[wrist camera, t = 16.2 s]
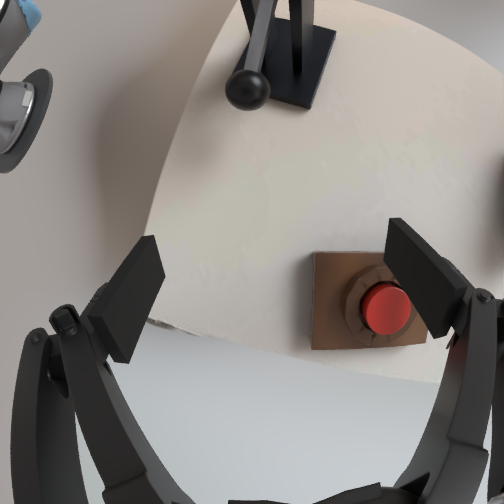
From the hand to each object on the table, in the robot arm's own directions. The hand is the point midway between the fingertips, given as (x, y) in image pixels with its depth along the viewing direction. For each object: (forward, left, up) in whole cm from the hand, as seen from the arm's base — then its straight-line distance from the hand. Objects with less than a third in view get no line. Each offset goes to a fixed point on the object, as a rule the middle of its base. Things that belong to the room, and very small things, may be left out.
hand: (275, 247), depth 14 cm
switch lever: (0, +17, -3) cm, 18 cm away
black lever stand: (+1, +21, -11) cm, 24 cm away
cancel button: (+9, -5, -8) cm, 13 cm away
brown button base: (+9, -5, -11) cm, 15 cm away
